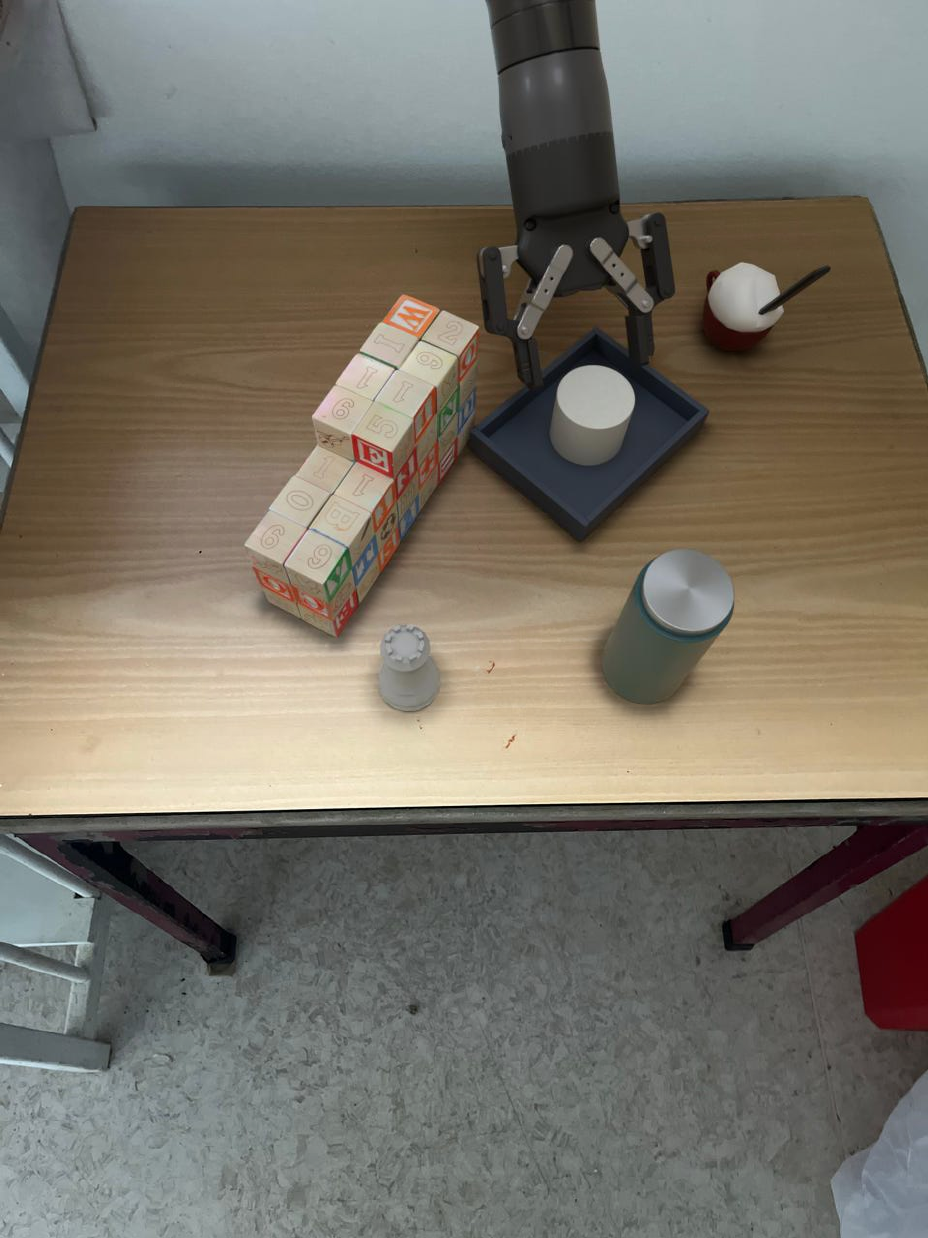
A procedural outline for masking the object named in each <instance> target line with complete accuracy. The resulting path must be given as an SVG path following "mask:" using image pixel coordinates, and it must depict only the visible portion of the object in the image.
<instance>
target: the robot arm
mask: <svg viewBox="0 0 928 1238" xmlns="http://www.w3.org/2000/svg"><path fill="white" fill-rule="evenodd" d="M484 2H485V5H486V8H487V12H488V19H489V29H490V37H491V43H492V51H493V56H494V64H495V69H496V75H497V86H498V111H499V121H500V128H501V129H500V130H501V135H500V138H501V146H502V148H503V151H504V154H505V162H506V166H507V167H506V169H507V174H508V182H509V187H510V188H509V190H510V195H511V202H512V208H513V216H514V222H515V227H516V238H515V242H514V244H513V245H509V246H500V247H497V246H495V245H491V246H486V247H485V246H484V247H482V248H480V249H479V250H478V251H477V252H476V265H477V273H478V282H479V292H480V301H481V309H482V317H483V318H482V319H483V327H484V330H485V332H486V333H488V334H490V335H495V336H500V337H501V336H502V337H506V338H508V339H509V340H510V342H511V344H512V350H513V355H514V362H515V369H516V375H517V378H518V379H519V381H520V382H521V383H522V384H524V385H526V384H527V387H528V389H531V390H538V389H542V388H543V379H542V372H541V371H542V367H541V358H540V352H539V344H538V339H537V337H533V334H534V332H535V330H536V328H537V325H538V323H539V322H540V319H541V318H542V315H543V313H544V312H545V311H546V310H547V309H548V306H549V305H550V302H551V300H552V299H553V298H566V297H570V296H573V295H575V294H577V293H579V292H594V291H598V290H603V288H605V290H606V291H607V292H609V293H610V294H612V295H613V296H614V297H615V298H616V299H617V300H618V302H620V303H621V304H622V305H623V307H625V309H626V310H627V311H628V315H624V322H625V331H626V341H627V349H628V351H629V360H630V363H631V365H632V366H638V367H640V366H644V365H649V364H650V357H652V356H654V352H655V337H654V326H653V317H652V316H653V315H652V314H653V310H654V309H655V307H656V306H658V305H659V304H661V303H662V302H664V301H665V300H669V299H671V298H673V297H674V295H675V294H676V284H675V277H674V269H673V262H672V256H671V249H670V248H671V247H670V242H669V234H668V227H667V219H666V216H665V215H664V213H662V212H652V213H647V214H645V215H642V216H640V217H639V218H637V219H634V220H630V221H626V219H625V218H624V216H623V214H622V212H621V211H622V210H621V191H620V185H619V184H620V183H619V174H618V165H617V164H618V163H617V156H616V155H617V154H616V145H615V135H614V127H613V117H612V108H611V107H612V106H611V99H610V92H609V85H608V81H607V77H606V72H605V68H604V63H603V57H602V52H601V43H600V33H599V26H598V25H599V24H598V14H597V4H596V0H484ZM629 239H630V240H631V241H632V244H633V246H634V247H635V248H636V249H637V250H640V256H641V262H642V269H643V277H644V282H645V288H644V287H643V286H642V285H641V284H640V283H639V281H638V278H637V277H636V275H635V274H634V273H633V272H632V270H630V268H629V267H628V266H627V265H626V264H625V263H624V262H623V261H622V260H621V256H622V253H623V251H624V249H625V247H626V245H627V243H628V241H629ZM514 262H516V263H517V265H519V267H520V268H521V269H522V270H523V271H524V272H525V274H527V276H528V277H529V279H528V281H527V283H526V285H525V288H524V290H523V292H522V294H521V296H520V299H519V301H518V306H517V308H516V311H515V313H514V315H513V317H512V319H511V318H508V309H507V298H506V289H505V280H504V279H506V278H508V277H509V276H510V274H511V270H512V264H513V263H514Z"/></svg>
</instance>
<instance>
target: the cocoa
mask: <svg viewBox="0 0 928 1238" xmlns="http://www.w3.org/2000/svg"><path fill="white" fill-rule="evenodd" d="M831 269H832V267H831V266H830V265H827V264H826V265H824V266H821V267H819V268H816V269H814V270H812V271H811V272H809V273H808V274H806V275H805V276H804V277H802V278H801V279H799V280H798V281H796V282H795V283H794V284H793V285H791V286H790V287H789V288H787V289H785V290H784V291H783V292H780V289H779V286H778V283H777V278H776V275H775V274H773V273H771V272H769V271H766V270H765V269H763V268H761V267H759V266H757V265H755V264H753V263H747V262H742V261H741V262H739V263H737V264H735V265H733V266H731V267H729V268H727V269H725V270H724V271H721V272H720V270H718V269H714V270H711V271H709V272H708V273H707V275H706V277H705V279H706V280H705V284H706V285H705V286H706V291H707V293H706V295H705V298H704V303H703V307H702V308H703V309H702V310H703V311H702V318H701V319H702V320H701V326H702V328H703V330H704V333H705V334H706V337H707V339H708V340H709V341H710V342H711V343H713V344H714V345H715V346H716V347H718V348H719V349H723V350H726V351H728V352H742V351H747V350H748V349H751V348H753V347H755V346H757V345H758V344H760V343H761V342H762V341H763V340H764V339H765V338H766V337H767V336H768V334H769V333H770V331H771V330H772V329H773V327H774V326H775V325H776V323H777V322H778V320H779V319H780V318H781V317H782V315H783V314H784V312H785V310H784V307H783V305H784V304H786V303H787V302H789V301H790V300H791V299H793V298H794V297H795V296H798V294H800V293H801V292H803V291H805V290H806V289H807V288H808V287H809V286H811V285H813V284H814V283H815V282H817V281H818V280H820V279H821V278H822V277H824V276H825V275H826V274H827V275H828V273H830V271H831Z"/></svg>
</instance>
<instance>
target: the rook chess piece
mask: <svg viewBox="0 0 928 1238" xmlns="http://www.w3.org/2000/svg"><path fill="white" fill-rule="evenodd" d="M379 651H380V652H379V653H380V656H381V659H382V660H383V662H382V663H381V666H380V668H379V671H378V674H377V675H378V678H377V679H378V681H377V682H378V691H379V692H380V695H381V697H382V699H383V701H385V702H386V703H387V704H388V705H390V706H391V707H392V708H393V709H397V710H400V711H403V712H411V711H412V712H413V711H418V710H421V709H423V708H425V707H427V706H429V705H430V703H431V702H433V700H434V699H435V698H436V697H437V696H438V693H439V690H440V687H441V677H440V675H441V674H440V671H439V668H438V666H437V664H436V662H435V660H434V659H433V658H432V657H431V656H430V653H431V651H432V650H431V641H430V639H429V637H428V635H427V634H426V632H425V631H423V630H422V629H421V628H419V626H415V625H412V624H410V623H409V624H408V623H406V624H398V625H395V626H393V627H392V628H389V630H388V631H386V633H385V634H384V635H383V636H382V638H381V641H380V644H379Z"/></svg>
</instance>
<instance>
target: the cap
mask: <svg viewBox="0 0 928 1238" xmlns="http://www.w3.org/2000/svg"><path fill="white" fill-rule="evenodd" d="M634 405H635V395H634V391H633V388H632V386H631V385H630V383H629V382H628V380H627V379H626V378H625V377H624V376H622V375H621V374H620V373H618V372H617V371H615V370H613V369H610V368H607V367H604V366H597V365H588V366H583V367H579V368H576V369H574V370H572V371H571V372H569V373H568V374H567V375H566V376H565V377H564V378H563V379H562V380H561V382H560V383H559V386H558V389H557V394H556V399H555V405H554V410H553V415H552V421H551V426H550V439H551V443H552V445H553V447H554V448H555V450H556V451H557V452H558V453H559V454H560V455H561V456H562V457H563V458H565V459H566V460H568V461H570V462H572V463H575V464H578V465H584V466H594V465H599V464H602V463H605V462H607V461H609V460H610V459H612V458H613V457H614V456H615V455H616V454H617V453H618V451H619V450H620V448H621V446H622V443H623V439H624V436H625V433H626V430H627V427H628V424H629V421H630V418H631V415H632V412H633V409H634Z"/></svg>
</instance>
